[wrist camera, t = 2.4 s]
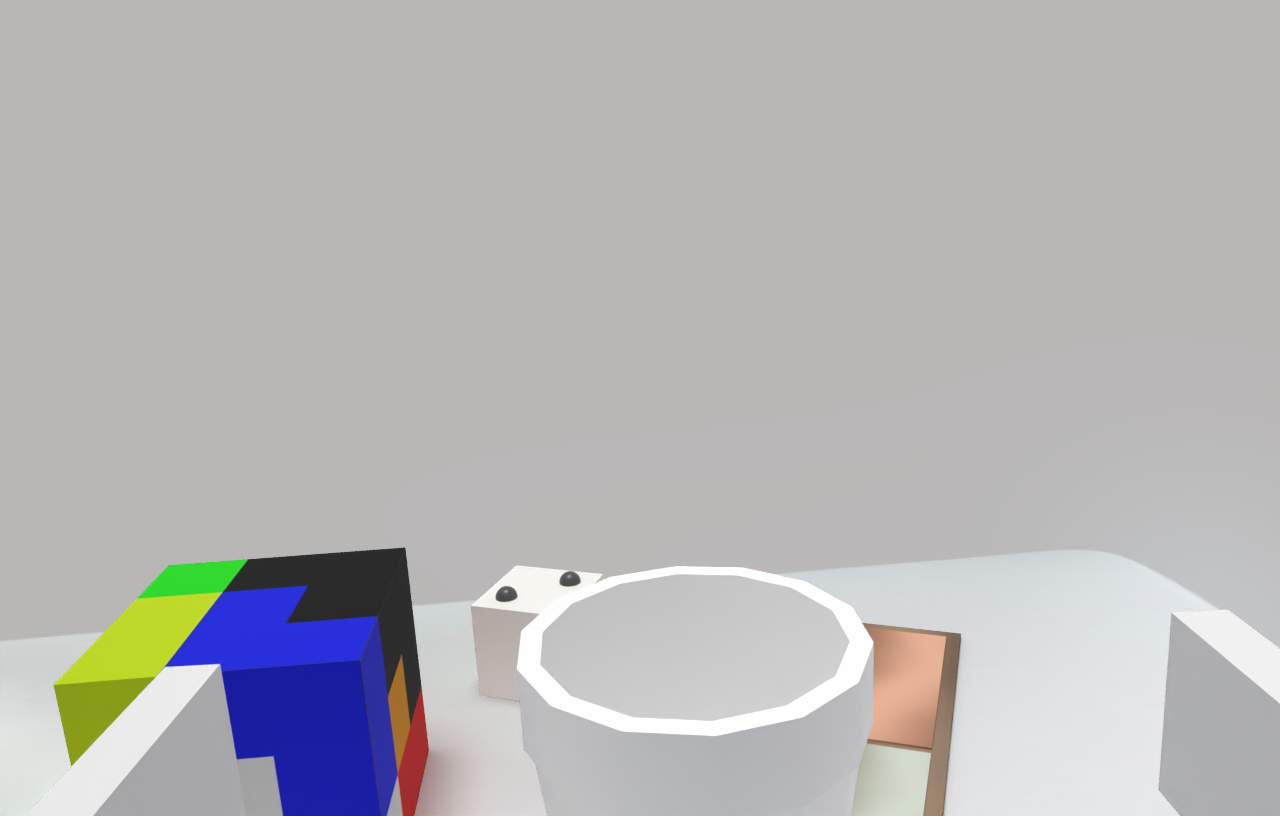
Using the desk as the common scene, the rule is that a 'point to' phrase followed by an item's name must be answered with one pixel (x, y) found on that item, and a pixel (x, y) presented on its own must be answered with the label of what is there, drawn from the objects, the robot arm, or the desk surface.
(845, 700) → the foam cup
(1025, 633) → the desk surface
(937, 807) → the color swatch strip
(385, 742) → the puzzle toy
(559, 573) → the die
